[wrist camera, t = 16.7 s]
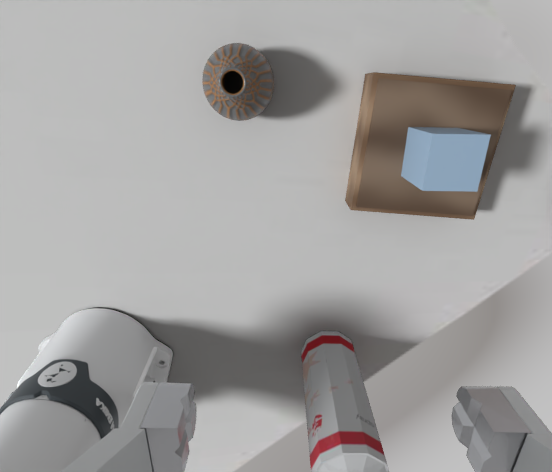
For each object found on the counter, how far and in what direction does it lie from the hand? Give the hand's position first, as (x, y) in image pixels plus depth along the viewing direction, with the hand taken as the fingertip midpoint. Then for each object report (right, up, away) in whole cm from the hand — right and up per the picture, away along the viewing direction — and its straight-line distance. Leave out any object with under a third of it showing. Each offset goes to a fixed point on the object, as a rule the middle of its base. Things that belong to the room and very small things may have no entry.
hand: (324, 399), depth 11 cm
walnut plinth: (+14, +15, +29) cm, 36 cm away
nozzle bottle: (+6, -12, +41) cm, 43 cm away
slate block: (+14, +14, +26) cm, 32 cm away
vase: (-5, +21, +27) cm, 35 cm away
